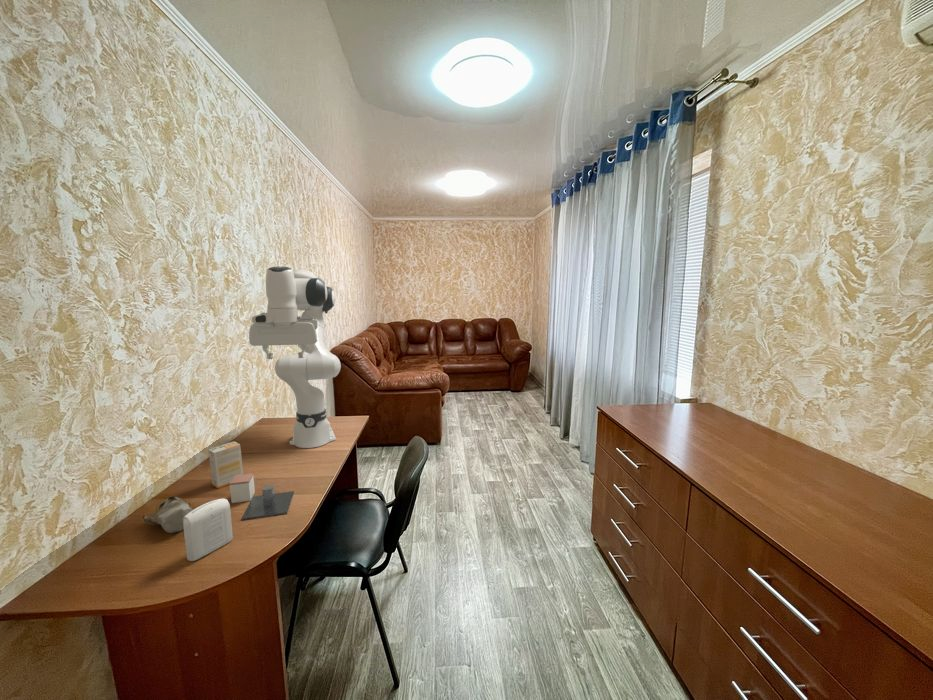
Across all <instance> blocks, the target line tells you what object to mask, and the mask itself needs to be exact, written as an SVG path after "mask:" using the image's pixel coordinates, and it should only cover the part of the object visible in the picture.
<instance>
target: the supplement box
mask: <svg viewBox="0 0 933 700" xmlns="http://www.w3.org/2000/svg"><path fill="white" fill-rule="evenodd" d="M208 457H209V467H210V473H211V474H210V475H211V484H212V485H213V486H214V487H215V488H217V489H221V488H224V487H226V486H230V482H231V481H232V479H233V478H234V476H235V475H243V474H244V470H243V460H242V451H241V444H240V443H238V442H236V441H231V442H227V443H224V444H221V445H218V446H214V447H211V448H208Z"/></svg>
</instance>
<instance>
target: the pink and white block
mask: <svg viewBox="0 0 933 700" xmlns="http://www.w3.org/2000/svg"><path fill="white" fill-rule="evenodd" d="M255 489H256V488H255V479H254V473H245V474H244V473H243V475H235V476H234V478H233V479H232V481H231V482H230V484H229V490H230V491H229V492H230V500H231V504H235V503H243V502H250V501H251V499H252V497H253V496H255V493H256V491H255Z"/></svg>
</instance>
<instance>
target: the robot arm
mask: <svg viewBox="0 0 933 700" xmlns="http://www.w3.org/2000/svg"><path fill="white" fill-rule="evenodd" d="M265 294H266V295H265V296H266V298H267V308H266V311H267V312H262V313H260V314H256V315H253V316H252V317H251V323H253V324H251V325H250V327H249V332H248V334H249V335H248V341H249V344H250V345H251V346H252V347H259V346H261V347H262V350H263V352H264V353H265V354H266V359H267V360H273V359H274V353H273V352H270V351H269V346H295V345H297V346H298V348H300V350H301V351H300V352H299V351H298V354H289V355H284V356H281V357H279V358H278V359H277V360H276V362H275V364H274V365H275V366H274V372H275V375H276V377H278V378H279V379H280V380H281V381H283V382H284V383H285V384H287V385H288V386H289V387H290V388H291V390H292V392H293V394H294V396H295V397H294V398H295V402H296V403H295V405H296V412H295V413H296V414H295V417H296V422H294V424H293V425H292V432H293V434H292V436H293V437H292V438H291V439H290V441H289V445H292V446H295V447H297V448H302V449H312V448H317V447H321V446H324V445H326V444H328V443H330V442H334V441H335V440H336V439H337V437H336V435H335V433H334V431H333V428H332V427H331V423H330V422H329V420H328V418H327V409H326V407H325V393H324V392H323V390H322V389H321V388H319V387H316V386H314V385H312V384H311V383H310V381H314V380H329V379H332V378H336V377H337V376H338V375H339V374H340V372H341V368H342V365H341V361H340V359H339V357H338V356H337V355H336V354H333V353H332V352H330V351H329V349H328V348H327V347H326V343H325V321H324V319H325V318H324V313H325V314H328V313H329V311H331V310H332V308H333V307H334V306H335V302H336V293H335V292H334V290H333V288H332V287H330V286H327V285H326V283H325V281H323V280H322V278H320V277H317V276H316V275H315V274H314V273H313V272H312V271H310V270H307V269H303V268H302V269H296V270H293V268H291V267H289V266H271V267H269V268H267V269H266V276H265ZM298 311H303V312H302V314H301V316H298V315H299V313H298ZM306 353H307V354H306Z"/></svg>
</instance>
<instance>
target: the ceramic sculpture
mask: <svg viewBox="0 0 933 700" xmlns="http://www.w3.org/2000/svg"><path fill="white" fill-rule="evenodd" d="M191 505H192V503H191V502H187V501H184V500H183V498H180V497H177V496H170V497H169V498H167V499H164V500H162V501H160V502H159V504H157V506H156V509H155V511H154V512H152V513H151V514H148V515H147V514H146V515H144V514H142V518H143V521H144V523H145V524H147V525H161V528H162V529H163V530H164V531H165V532H167V533H169V534H173V533H177V532H182V531H184V527H183V518H184V516H186V515H187V514H188V513H190V512H191V511H192V510H194V509H193V508H192V507H191Z"/></svg>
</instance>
